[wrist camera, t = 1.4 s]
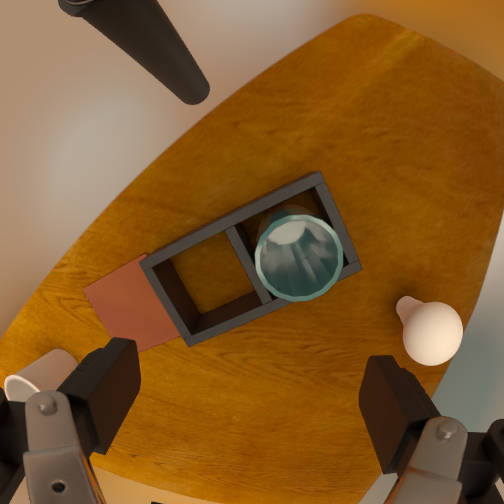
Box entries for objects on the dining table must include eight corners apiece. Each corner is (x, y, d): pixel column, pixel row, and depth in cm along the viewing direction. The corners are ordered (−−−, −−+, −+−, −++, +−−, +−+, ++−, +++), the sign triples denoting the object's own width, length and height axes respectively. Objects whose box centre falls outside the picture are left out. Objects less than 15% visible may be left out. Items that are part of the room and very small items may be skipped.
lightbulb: (422, 271, 33) (474, 306, 23) (427, 317, 34) (472, 362, 24) (375, 287, 34) (415, 331, 23) (382, 334, 35) (418, 386, 24)
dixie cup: (67, 333, 37) (26, 371, 27) (99, 384, 38) (67, 429, 29) (33, 346, 38) (-6, 380, 28) (62, 393, 39) (30, 432, 30)
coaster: (83, 288, 35) (82, 289, 35) (147, 252, 34) (145, 253, 33) (126, 356, 37) (125, 358, 37) (191, 329, 36) (191, 331, 35)
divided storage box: (154, 250, 34) (137, 262, 29) (311, 171, 31) (319, 170, 26) (197, 325, 36) (188, 347, 31) (349, 256, 33) (362, 269, 28)
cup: (246, 220, 33) (239, 239, 23) (304, 192, 32) (321, 199, 22) (274, 275, 34) (278, 314, 24) (330, 249, 33) (355, 278, 23)
